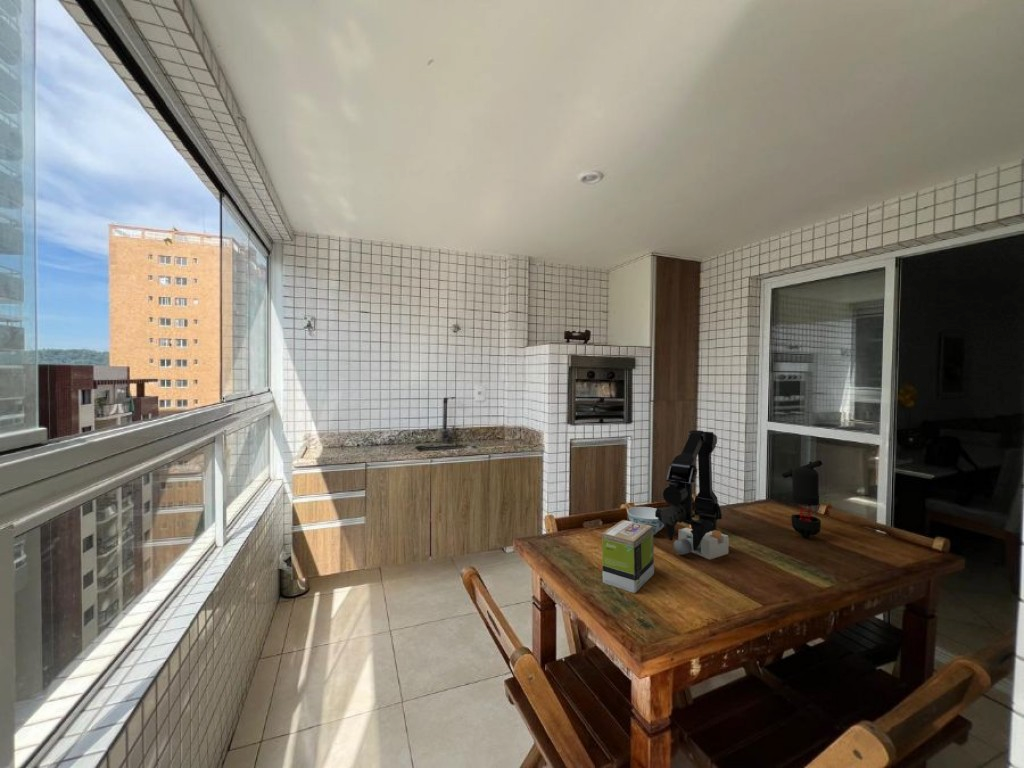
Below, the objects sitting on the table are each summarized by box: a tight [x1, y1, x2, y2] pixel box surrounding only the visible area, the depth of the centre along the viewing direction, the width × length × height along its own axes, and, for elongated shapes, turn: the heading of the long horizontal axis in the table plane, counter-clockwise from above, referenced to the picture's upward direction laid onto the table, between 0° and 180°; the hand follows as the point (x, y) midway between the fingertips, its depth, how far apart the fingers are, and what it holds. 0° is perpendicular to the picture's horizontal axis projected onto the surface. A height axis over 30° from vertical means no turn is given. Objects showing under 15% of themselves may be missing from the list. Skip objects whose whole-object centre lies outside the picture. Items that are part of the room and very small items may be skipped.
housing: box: [678, 527, 729, 561], centre depth 137 cm, size 10×12×6 cm
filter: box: [781, 459, 823, 540], centre depth 150 cm, size 14×9×30 cm
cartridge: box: [673, 537, 701, 555], centre depth 135 cm, size 16×5×5 cm, turn 119°
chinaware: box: [627, 506, 665, 536], centre depth 154 cm, size 15×15×8 cm
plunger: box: [712, 530, 722, 541], centre depth 134 cm, size 3×3×2 cm
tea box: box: [601, 519, 655, 594], centre depth 116 cm, size 15×10×15 cm, turn 141°
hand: (682, 545), depth 132 cm, fingers open, 9 cm apart
